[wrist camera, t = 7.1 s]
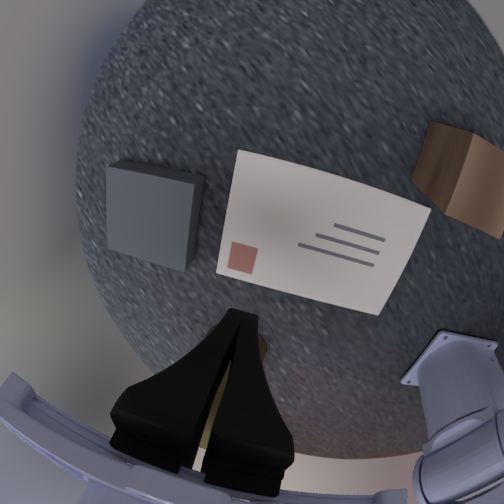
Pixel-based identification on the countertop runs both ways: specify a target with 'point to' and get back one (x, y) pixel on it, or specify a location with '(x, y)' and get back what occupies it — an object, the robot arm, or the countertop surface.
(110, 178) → the metal block
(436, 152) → the walnut block
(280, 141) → the countertop surface
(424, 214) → the letter
